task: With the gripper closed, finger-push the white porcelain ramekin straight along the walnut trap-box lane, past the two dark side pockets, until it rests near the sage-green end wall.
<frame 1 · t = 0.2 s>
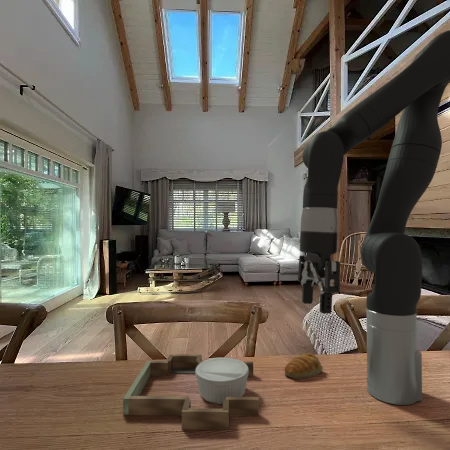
hand: (315, 307, 67), 18 cm above the table, tool pointing down, fingers open, 8 cm apart
pastry: (303, 373, 77), on the table
ramekin: (222, 394, 68), on the table
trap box: (198, 392, 68), on the table
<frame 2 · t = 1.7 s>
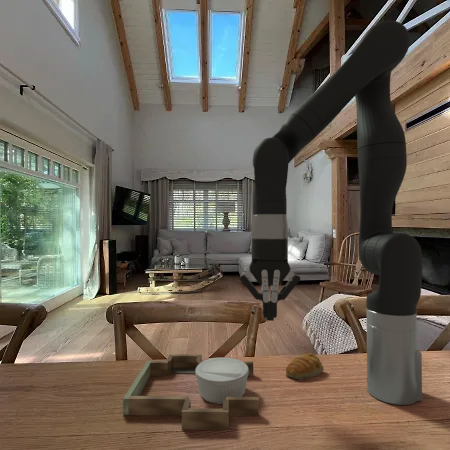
hand: (269, 319, 67), 15 cm above the table, tool pointing down, fingers closed
nothing on the table moved.
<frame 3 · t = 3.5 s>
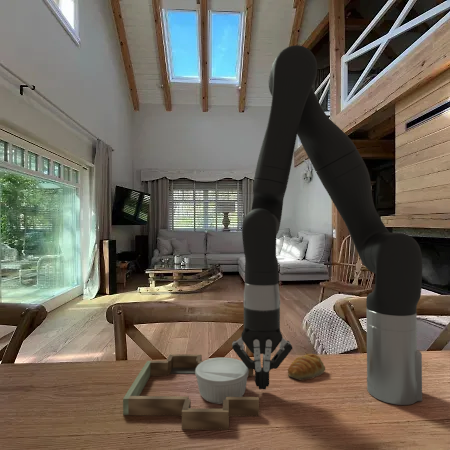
hand: (261, 387, 67), 1 cm above the table, tool pointing down, fingers closed
ramekin: (222, 394, 68), on the table, touching gripper
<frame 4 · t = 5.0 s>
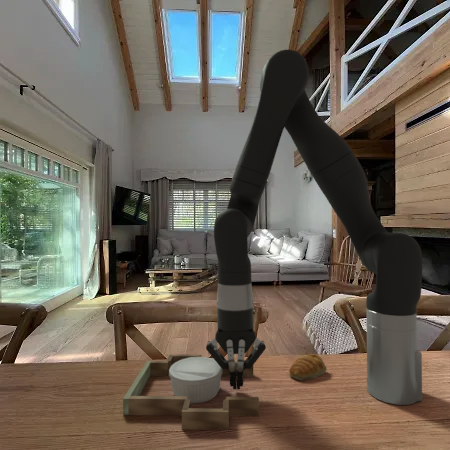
hand: (236, 387, 67), 1 cm above the table, tool pointing down, fingers closed
ramekin: (196, 393, 68), on the table, touching gripper
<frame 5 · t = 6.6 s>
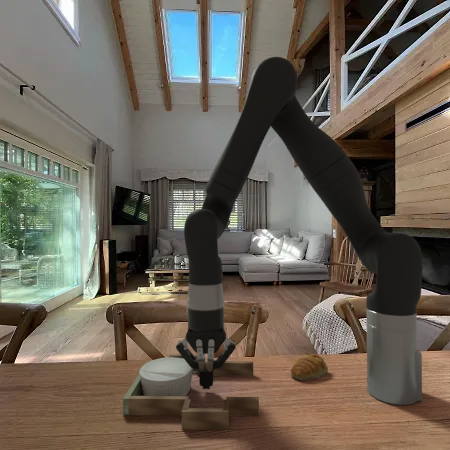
hand: (206, 387, 68), 1 cm above the table, tool pointing down, fingers closed
ramekin: (166, 393, 68), on the table, touching gripper
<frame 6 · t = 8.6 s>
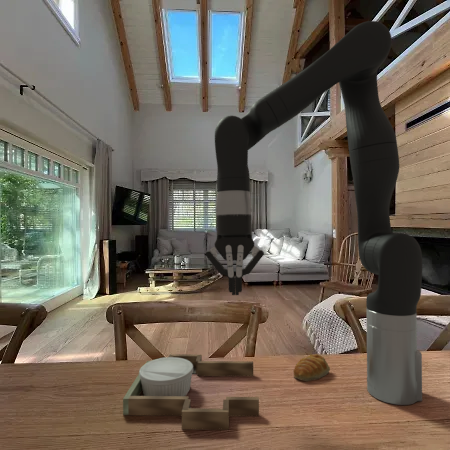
hand: (235, 294, 69), 20 cm above the table, tool pointing down, fingers closed
ramekin: (166, 393, 68), on the table
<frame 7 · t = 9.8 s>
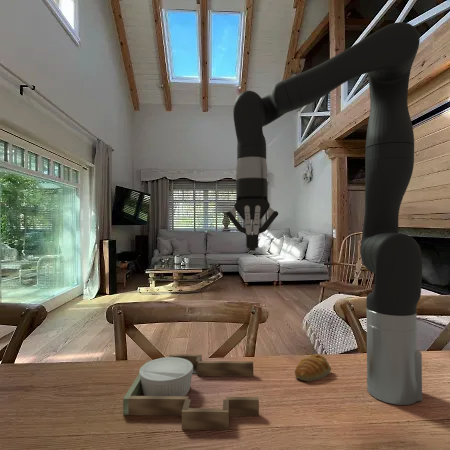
hand: (252, 250, 78), 29 cm above the table, tool pointing down, fingers closed
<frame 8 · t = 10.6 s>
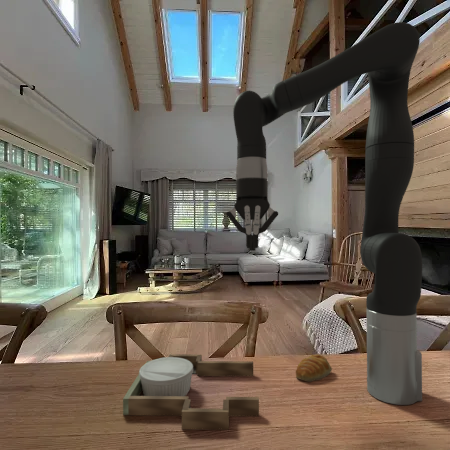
hand: (252, 250, 78), 29 cm above the table, tool pointing down, fingers closed
at the end: ramekin inside the target area (0.2 cm from its centre), on the table; ramekin moved 11.7 cm from its start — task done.
